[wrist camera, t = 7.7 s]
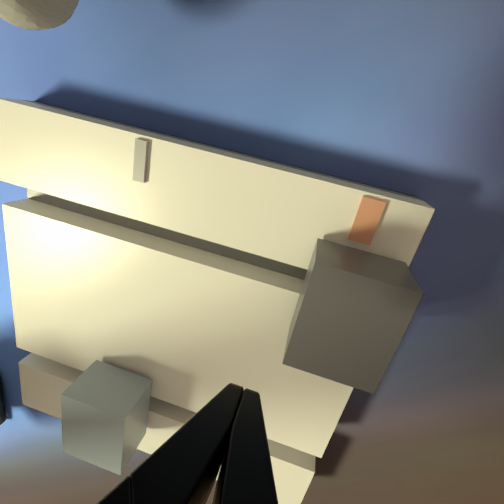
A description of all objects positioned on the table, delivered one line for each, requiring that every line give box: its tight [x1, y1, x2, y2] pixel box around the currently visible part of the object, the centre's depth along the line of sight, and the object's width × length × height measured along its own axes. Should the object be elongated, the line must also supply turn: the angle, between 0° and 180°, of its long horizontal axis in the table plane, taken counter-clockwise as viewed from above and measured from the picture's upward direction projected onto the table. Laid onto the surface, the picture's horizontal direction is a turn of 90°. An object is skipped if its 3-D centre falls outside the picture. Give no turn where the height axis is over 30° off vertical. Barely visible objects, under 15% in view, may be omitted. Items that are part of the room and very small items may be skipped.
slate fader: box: [61, 360, 152, 475], centre depth 21 cm, size 4×5×5 cm
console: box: [0, 98, 435, 504], centre depth 20 cm, size 22×22×3 cm
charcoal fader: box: [282, 238, 424, 394], centre depth 15 cm, size 4×5×5 cm
